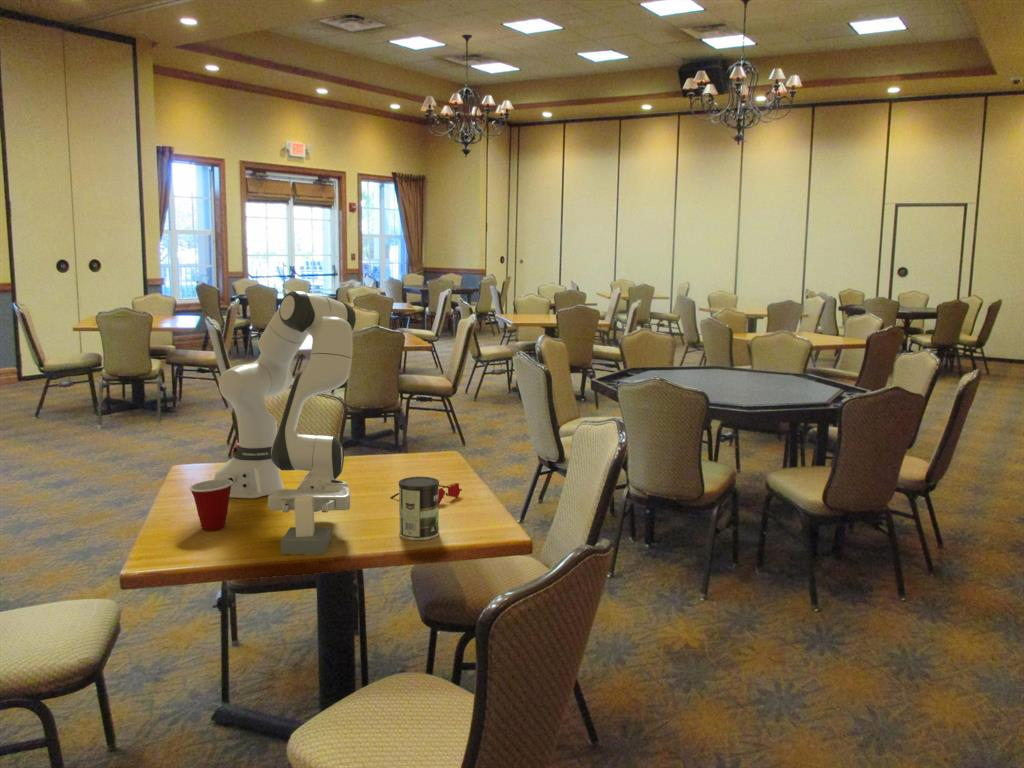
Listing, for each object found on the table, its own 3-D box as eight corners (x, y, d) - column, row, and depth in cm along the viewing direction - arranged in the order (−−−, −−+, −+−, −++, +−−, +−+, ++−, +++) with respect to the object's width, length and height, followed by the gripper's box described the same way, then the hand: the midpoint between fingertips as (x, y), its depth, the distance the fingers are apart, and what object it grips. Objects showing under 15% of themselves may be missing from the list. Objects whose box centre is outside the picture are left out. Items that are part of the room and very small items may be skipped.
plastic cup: (200, 520, 231) (198, 477, 229) (240, 521, 230) (238, 478, 229) (183, 533, 220) (181, 488, 218) (225, 534, 220) (223, 489, 218)
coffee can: (439, 527, 228) (439, 476, 226) (438, 540, 218) (438, 486, 216) (399, 528, 227) (399, 476, 225) (397, 541, 217) (397, 486, 215)
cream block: (295, 537, 208) (294, 501, 207) (298, 531, 212) (296, 496, 211) (312, 536, 208) (311, 500, 207) (314, 531, 212) (313, 495, 211)
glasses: (434, 509, 246) (434, 492, 245) (389, 499, 255) (389, 483, 254) (462, 497, 258) (462, 481, 257) (419, 489, 267) (419, 473, 266)
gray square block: (281, 556, 206) (280, 540, 205) (290, 542, 216) (290, 527, 215) (323, 556, 206) (322, 540, 206) (330, 542, 216) (330, 527, 216)
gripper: (273, 481, 221) (261, 496, 208) (353, 481, 223) (346, 496, 209) (273, 505, 222) (261, 521, 209) (353, 505, 224) (346, 521, 210)
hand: (304, 509), depth 209 cm, fingers open, 8 cm apart
